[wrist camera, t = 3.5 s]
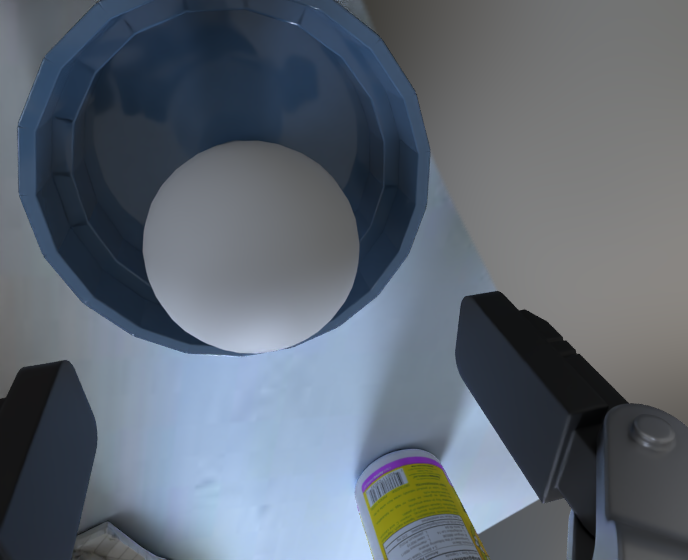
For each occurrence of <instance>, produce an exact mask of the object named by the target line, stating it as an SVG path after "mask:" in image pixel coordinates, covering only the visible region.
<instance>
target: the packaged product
mask: <svg viewBox="0 0 688 560" xmlns="http://www.w3.org/2000/svg"><path fill="white" fill-rule="evenodd" d="M71 560H167V559H164V558H161V557H158V556H155V555H154V554H152V553H150V552H149V551H147V550H145V549H144V548H142V547H141V546H140V545H138V544H137V543H136V542H134V541H133V540H132V539H130V538H129V537H128V536H127V535H125V534H124V533H123V532H121V531H120V530H119V529H117V528H116V527H115V526H113V525H112V524H111V523H110V522H108V521H107V522H105V523H103V524H101V525H99V526H97V527H94V528H92V529H90V530H88V531H86V532H84V533H82V534H80V535H78V536H76V541H75V545H74V550H73V554H72V558H71Z"/></svg>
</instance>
